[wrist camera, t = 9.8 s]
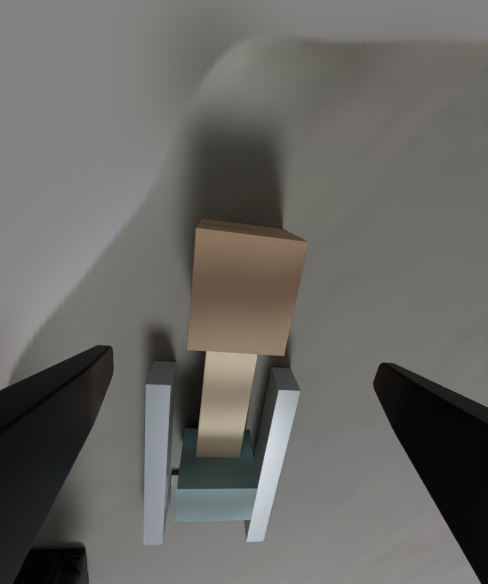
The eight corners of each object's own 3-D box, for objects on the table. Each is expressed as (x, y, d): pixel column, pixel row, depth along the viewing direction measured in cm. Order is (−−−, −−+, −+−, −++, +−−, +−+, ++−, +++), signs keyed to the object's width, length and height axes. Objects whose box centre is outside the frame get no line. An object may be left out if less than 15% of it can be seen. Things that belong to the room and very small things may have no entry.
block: (267, 315, 19) (283, 356, 14) (194, 309, 18) (187, 349, 13) (282, 228, 17) (308, 241, 12) (202, 218, 16) (196, 228, 11)
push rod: (244, 457, 22) (251, 519, 18) (182, 457, 21) (174, 521, 17) (269, 321, 18) (285, 359, 14) (193, 314, 17) (186, 354, 13)
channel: (258, 509, 25) (263, 541, 23) (150, 511, 24) (143, 545, 22) (290, 368, 20) (300, 390, 18) (154, 360, 19) (145, 384, 17)
